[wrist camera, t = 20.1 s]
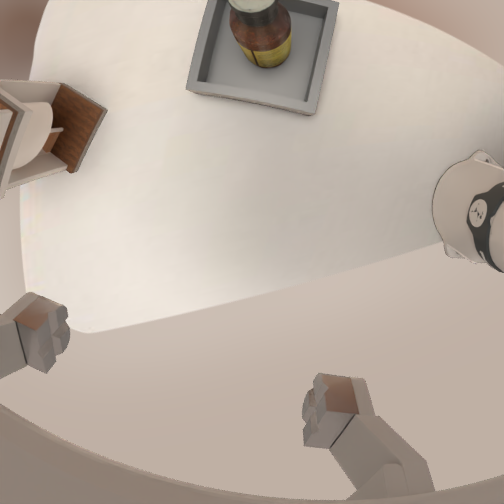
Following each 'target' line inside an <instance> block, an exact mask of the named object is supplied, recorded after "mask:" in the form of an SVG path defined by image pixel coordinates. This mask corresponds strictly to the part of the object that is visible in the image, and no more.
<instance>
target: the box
mask: <svg viewBox="0 0 504 504" xmlns="http://www.w3.org/2000/svg"><path fill="white" fill-rule="evenodd" d="M278 2H280V3H281V4H282V5H283V6H284V7H285V8H286V9H287V11H288V13H289V15H290V18H291V50H290V53H289V56H288V57H287V59H286V60H285V61H284V62H283V63H282V64H281V65H279V66H276V67H271V68H261V67H259V66H257V65H255V64H253V63H252V62H250V61H249V60H248V59H247V57H246V56H245V54H244V52H243V51H242V49H241V47H240V46H239V44H238V42H237V41H236V39H235V37H234V35H233V33H232V31H231V28H230V25H229V17H230V10H231V7H230V5H229V3H228V0H208V2H207V5H206V8H205V12H204V16H203V19H202V23H201V27H200V30H199V34H198V38H197V42H196V46H195V50H194V54H193V58H192V62H191V67H190V71H189V75H188V80H187V84H186V90H189V91H191V92H194V93H196V94H203V95H209V96H216V97H222V98H228V99H234V100H240V101H245V102H250V103H255V104H260V105H265V106H270V107H275V108H279V109H283V110H288V111H292V112H296V113H300V114H304V115H308V116H311V115H314V114H315V111H316V107H317V103H318V98H319V94H320V90H321V85H322V81H323V76H324V72H325V67H326V63H327V58H328V54H329V49H330V45H331V40H332V35H333V31H334V26H335V21H336V16H337V11H338V7H339V2H335V1H332V0H279V1H278Z"/></svg>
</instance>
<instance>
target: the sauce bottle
mask: <svg viewBox="0 0 504 504" xmlns="http://www.w3.org/2000/svg"><path fill="white" fill-rule="evenodd" d="M278 1H279V0H228V3H229V5H230V7H231V10H230V17H229V25H230V28H231V31H232V33H233V35H234V37H235V39H236V41H237V42H238V44H239V46H240V47H241V49H242V51H243V52H244V54H245V56H246V57H247V59H248V60H249V61H250V62H252V63H253V64H255V65H257V66H259V67H261V68H271V67H276V66H279V65H281V64H282V63H283V62H284V61H285V60H286V59H287V57H288V56H289V53H290V50H291V18H290V15H289V13H288V11H287V9H286V8H285V7H284V6H283V5H282V4H281V3H280V2H278Z"/></svg>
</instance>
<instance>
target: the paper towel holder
mask: <svg viewBox="0 0 504 504" xmlns="http://www.w3.org/2000/svg"><path fill="white" fill-rule="evenodd" d="M107 111H108V110H106V109H105V108H103V107H102V106H100V105H99V104H97V103H95V102H94V101H92V100H91V99H89V98H87V97H86V96H84V95H83V94H81V93H79V92H78V91H76V90H74V89H73V88H71V87H70V86H68V85H66V84H64V83H53V82H41V81H24V80H0V199H2V198H4V196H5V192H6V190H8V189H11V188H13V187H16V186H19V185H22V184H25V183H28V182H30V181H33V180H36V179H39V178H42V177H45V176H48V175H52V174H55V173H58V172H61V171H64V170H67V171H68V172H69V173H74V172H77V171H78V169H79V167H80V165H81V162H82V160H83V158H84V156H85V154H86V152H87V150H88V147H89V145H90V143H91V141H92V139H93V137H94V135H95V133H96V131H97V129H98V128H99V126H100V124H101V122H102V120H103V118H104V116H105V114H106V113H107Z"/></svg>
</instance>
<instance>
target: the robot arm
mask: <svg viewBox="0 0 504 504" xmlns="http://www.w3.org/2000/svg"><path fill="white" fill-rule="evenodd" d="M485 160H486V162H485ZM433 218H434V222H435V225H436V228H437V230H438V232H439V233H440V235H441V237H442V239H443V242H444V249H445V253H446V255H447V256H449V257H451V258H466V259H468V260H469V261H470V262H472V263H474V264H476V263H487V264H488V265H489V266H490V267H492V268H494V269H496V270H497V271H499V272H502V273H504V169H503V168H502V167H501V166H500V165H499V164H498V163H497V162H496V161H495V160H494V159H493V158H491V157H490V156H489V155H488V154H487V153H486V152H484V151H481V150H478V151H477V152H475V153H474V154H473V155H472V156H471V157H470V158H469V159H468V160H465V161H462V162H459V163H457V164H455V165H453V166H452V167H450V168H449V169H448V170H447V171H446V172H445V173H444V175H443V176H442V177H441V179H440V181H439V183H438V185H437V187H436V190H435V193H434V198H433ZM67 317H68V312H67V308H66V307H65V306H64V305H61V304H59V303H57V302H54V301H52V300H50V299H47V298H45V297H43V296H40V295H37V294H35V293H33V292H28V293H26V294H25V295H24V296H23V297H22V298H20V299H19V300H18V301H17V302H16V303H15V304H13V305H12V306H11V307H10V308H9V309H8V310H6V311H5V312H4V313H3V314H2V315H1V314H0V379H1V378H3V377H5V376H7V375H9V374H11V373H13V372H16V371H18V370H19V369H22V368H24V367H26V366H27V365H29V366H31V367H33V368H35V369H37V370H39V371H41V372H44V373H47V372H48V371H49V370H50V368H51V367H52V366H53V365H54V363H55V362H56V355H58V354H61V353H63V352H64V350H65V349H66V348H67V345H68V343H69V339H70V328H69V326H68V324H67V323H66V321H65V320H66V319H67ZM313 386H314V388H313V389H311V390H309V391H308V392H307V395H306V397H305V399H304V403H303V409H302V418H303V420H304V421H305V422H306V423H307V424H306V425H305V427H304V429H303V437H304V446H308V447H316V448H326V449H330V452H331V453H332V455H333V456H334V458H335V459H336V461H337V462H338V463H339V465H340V466H341V468H342V469H343V471H344V472H345V474H346V475H347V476H348V478H349V479H350V481H351V482H352V484H353V485H354V486H355V488H356V489H357V491H356V492H355V493H353V494H352V495H351V496H350V497H349V498H348V499H346V500H303V499H287V498H276V497H265V496H257V495H249V494H242V493H236V492H230V491H224V490H219V489H214V488H209V487H204V486H199V485H195V484H191V483H186V482H182V481H178V480H175V479H171V478H167V477H163V476H160V475H156V474H153V473H150V472H147V471H143V470H140V469H137V468H134V467H131V466H128V465H126V464H123V463H120V462H117V461H114V460H112V459H109V458H106V457H104V456H101V455H99V454H97V453H94V452H91V451H89V450H87V449H84V448H82V447H80V446H78V445H76V444H73V443H71V442H69V441H67V440H64V439H63V438H61V437H58V436H56V435H55V434H52V433H51V432H49V431H47V430H45V429H43V428H41V427H39V426H37V425H35V424H34V423H32V422H30V421H28V420H26V419H25V418H23V417H21V416H20V415H18V414H16V413H15V412H13V411H11V410H10V409H8V408H6V407H5V406H3V405H2V404H0V504H504V475H501V476H497V477H494V478H491V479H487V480H484V481H480V482H476V483H473V484H468V485H464V486H460V487H455V488H451V489H446V490H441V491H435V489H434V485H433V482H432V478H431V475H430V472H429V468H428V465H427V462H426V460H425V459H424V458H422V456H421V455H419V454H418V453H417V452H416V451H415V450H414V449H413V448H412V447H411V446H410V445H409V444H408V443H407V442H406V441H405V440H404V439H403V438H402V437H401V436H400V435H399V434H397V433H396V432H395V431H394V430H393V429H392V428H391V427H390V426H389V425H388V424H387V423H386V422H385V421H384V420H383V419H382V418H381V417H380V416H375V413H374V409H373V405H372V402H371V398H370V395H369V391H368V388H367V385H366V381H365V380H364V379H363V378H355V377H345V376H337V375H330V374H323V373H318V374H317V375H316V377H315V379H314V381H313Z"/></svg>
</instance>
